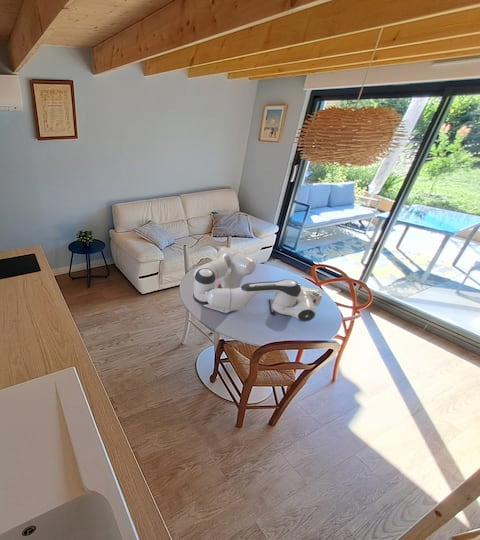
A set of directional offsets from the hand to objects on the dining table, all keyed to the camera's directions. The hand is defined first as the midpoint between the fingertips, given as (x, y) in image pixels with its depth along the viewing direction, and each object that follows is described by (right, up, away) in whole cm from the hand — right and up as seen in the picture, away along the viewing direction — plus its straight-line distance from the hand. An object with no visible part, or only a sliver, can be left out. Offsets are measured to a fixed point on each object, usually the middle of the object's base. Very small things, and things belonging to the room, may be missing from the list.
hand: (297, 284), depth 157 cm
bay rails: (+9, -18, +26) cm, 33 cm away
